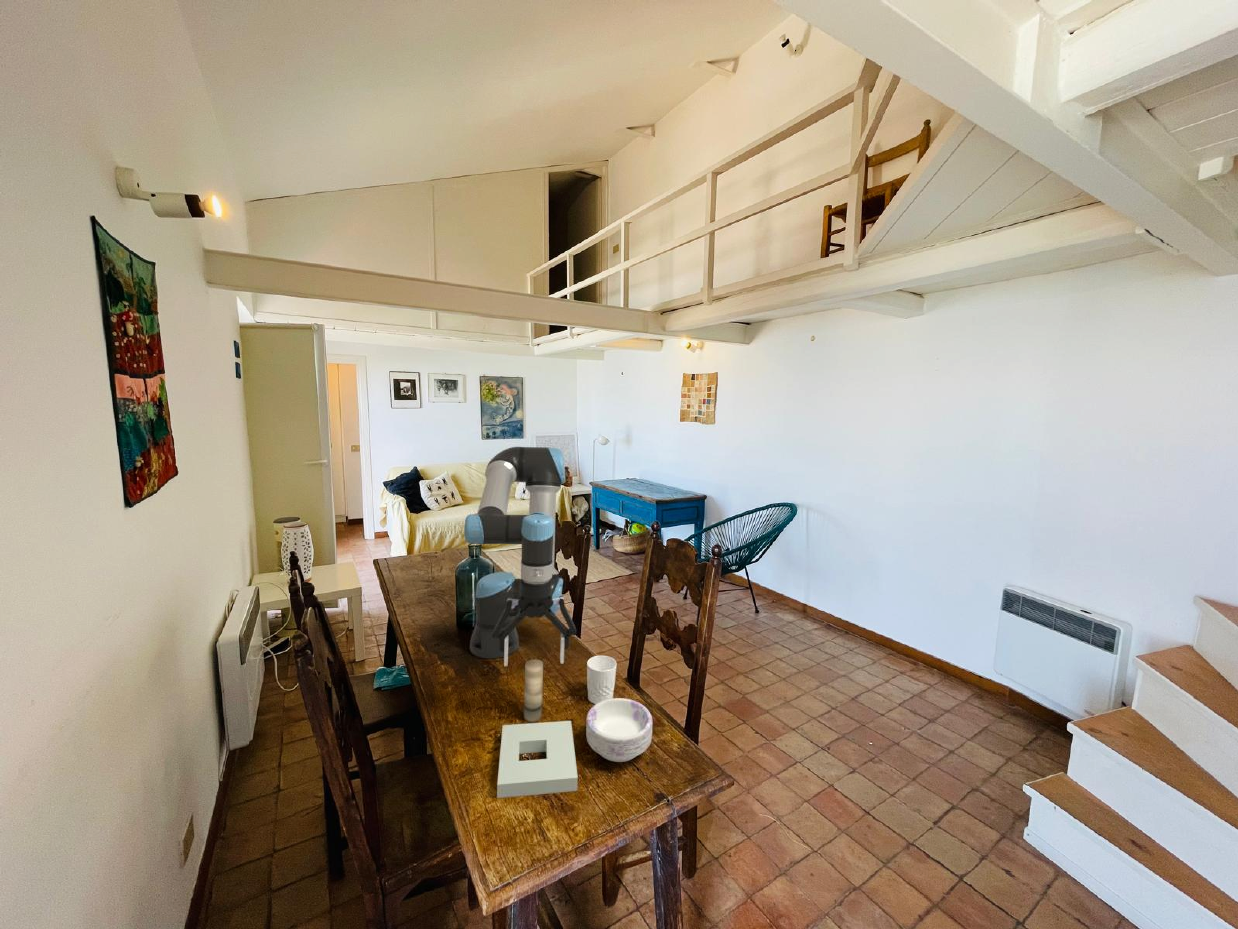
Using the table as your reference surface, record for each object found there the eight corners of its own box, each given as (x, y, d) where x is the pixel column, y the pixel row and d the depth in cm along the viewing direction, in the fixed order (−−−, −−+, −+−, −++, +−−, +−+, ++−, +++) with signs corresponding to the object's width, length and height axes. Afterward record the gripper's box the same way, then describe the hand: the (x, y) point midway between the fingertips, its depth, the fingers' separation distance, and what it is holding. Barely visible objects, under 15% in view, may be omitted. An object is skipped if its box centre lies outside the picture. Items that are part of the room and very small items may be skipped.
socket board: (502, 737, 116) (502, 725, 115) (570, 732, 119) (571, 720, 118) (497, 798, 98) (497, 784, 98) (577, 790, 101) (577, 777, 101)
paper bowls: (574, 737, 117) (575, 706, 116) (629, 719, 124) (631, 690, 123) (604, 782, 104) (606, 747, 103) (663, 759, 111) (665, 726, 110)
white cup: (601, 685, 138) (602, 652, 137) (620, 698, 133) (622, 664, 132) (579, 696, 133) (581, 662, 132) (599, 710, 127) (600, 674, 126)
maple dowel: (523, 711, 126) (524, 659, 124) (541, 710, 127) (543, 658, 125) (523, 722, 121) (524, 669, 119) (542, 721, 122) (543, 668, 120)
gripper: (481, 585, 113) (480, 672, 116) (589, 583, 118) (586, 667, 120) (484, 574, 121) (483, 656, 123) (586, 573, 125) (582, 652, 127)
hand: (534, 662), depth 122 cm, fingers open, 13 cm apart
